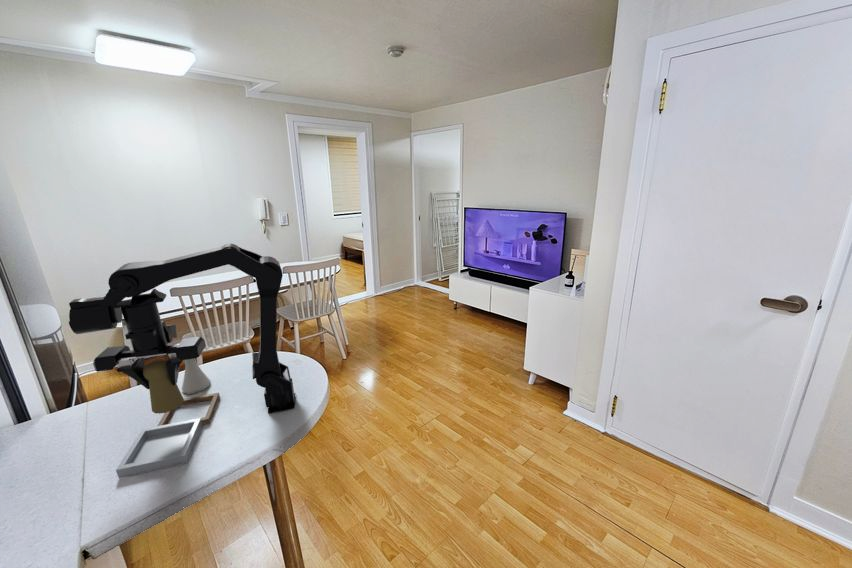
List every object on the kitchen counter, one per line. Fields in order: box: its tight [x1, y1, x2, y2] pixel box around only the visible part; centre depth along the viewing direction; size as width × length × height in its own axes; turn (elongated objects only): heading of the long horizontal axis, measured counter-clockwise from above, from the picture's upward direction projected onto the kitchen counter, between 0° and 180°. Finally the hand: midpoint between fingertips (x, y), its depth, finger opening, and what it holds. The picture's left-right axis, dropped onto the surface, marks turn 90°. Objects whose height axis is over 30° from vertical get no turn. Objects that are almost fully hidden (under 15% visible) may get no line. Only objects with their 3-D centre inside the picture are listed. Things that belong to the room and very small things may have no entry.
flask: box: [181, 358, 212, 395], centre depth 97 cm, size 7×7×10 cm
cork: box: [143, 359, 185, 415], centre depth 77 cm, size 6×6×11 cm
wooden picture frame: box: [157, 392, 221, 426], centre depth 88 cm, size 11×11×2 cm
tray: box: [115, 417, 204, 479], centre depth 77 cm, size 12×12×2 cm
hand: (162, 386), depth 78 cm, fingers closed on cork, 5 cm apart
